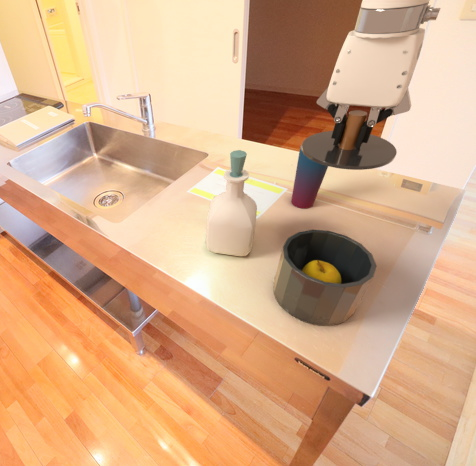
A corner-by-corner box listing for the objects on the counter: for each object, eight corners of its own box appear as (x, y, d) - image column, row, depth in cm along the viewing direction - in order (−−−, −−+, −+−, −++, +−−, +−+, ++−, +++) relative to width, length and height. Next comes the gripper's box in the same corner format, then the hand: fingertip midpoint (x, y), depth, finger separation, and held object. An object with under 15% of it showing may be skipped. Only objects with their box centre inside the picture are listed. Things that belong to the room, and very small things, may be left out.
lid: (399, 143, 57) (417, 102, 53) (386, 180, 49) (405, 136, 45) (313, 132, 65) (322, 95, 60) (289, 162, 57) (298, 123, 53)
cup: (319, 198, 81) (336, 143, 72) (314, 213, 77) (332, 157, 68) (290, 193, 85) (303, 139, 75) (284, 207, 80) (297, 152, 71)
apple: (294, 278, 63) (303, 248, 58) (331, 284, 61) (344, 254, 55) (294, 303, 58) (305, 274, 53) (335, 311, 56) (349, 281, 51)
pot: (361, 286, 60) (382, 245, 53) (344, 339, 53) (366, 300, 46) (286, 260, 67) (297, 221, 60) (262, 303, 60) (271, 265, 53)
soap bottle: (252, 232, 75) (267, 142, 60) (249, 261, 68) (265, 167, 54) (210, 227, 78) (215, 140, 63) (204, 254, 72) (207, 164, 57)
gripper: (467, 11, 42) (408, 142, 54) (330, 18, 51) (304, 129, 63) (466, 23, 38) (402, 162, 50) (316, 28, 47) (292, 145, 58)
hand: (348, 143), depth 56 cm, fingers closed on lid, 2 cm apart
